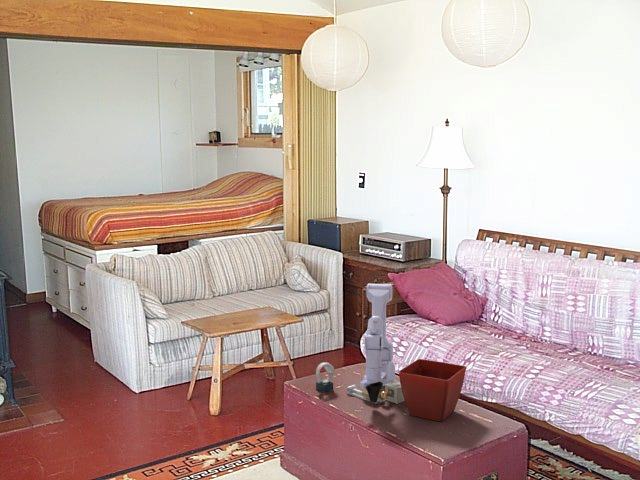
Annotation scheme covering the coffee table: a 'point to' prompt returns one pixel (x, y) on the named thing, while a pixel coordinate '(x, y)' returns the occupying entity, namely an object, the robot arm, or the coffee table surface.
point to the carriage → (365, 393)
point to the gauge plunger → (385, 394)
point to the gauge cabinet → (397, 395)
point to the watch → (325, 384)
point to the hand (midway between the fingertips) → (373, 401)
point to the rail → (360, 394)
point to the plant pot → (431, 388)
